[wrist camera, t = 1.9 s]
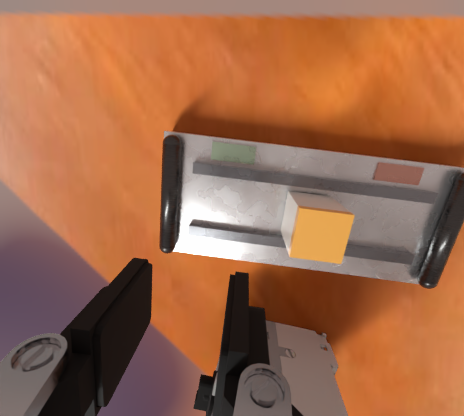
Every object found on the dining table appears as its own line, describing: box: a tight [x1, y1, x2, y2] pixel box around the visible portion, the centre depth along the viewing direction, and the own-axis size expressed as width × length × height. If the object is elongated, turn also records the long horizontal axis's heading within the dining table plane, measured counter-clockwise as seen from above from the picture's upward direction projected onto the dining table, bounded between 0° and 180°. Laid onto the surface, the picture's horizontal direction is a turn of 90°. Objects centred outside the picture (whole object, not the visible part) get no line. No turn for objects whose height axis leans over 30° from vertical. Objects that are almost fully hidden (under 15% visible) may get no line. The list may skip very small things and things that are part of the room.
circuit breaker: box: [194, 320, 348, 416], centre depth 25 cm, size 8×14×15 cm, turn 78°
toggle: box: [281, 191, 355, 264], centre depth 21 cm, size 4×4×6 cm
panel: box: [159, 131, 464, 289], centre depth 25 cm, size 28×12×4 cm, turn 83°
